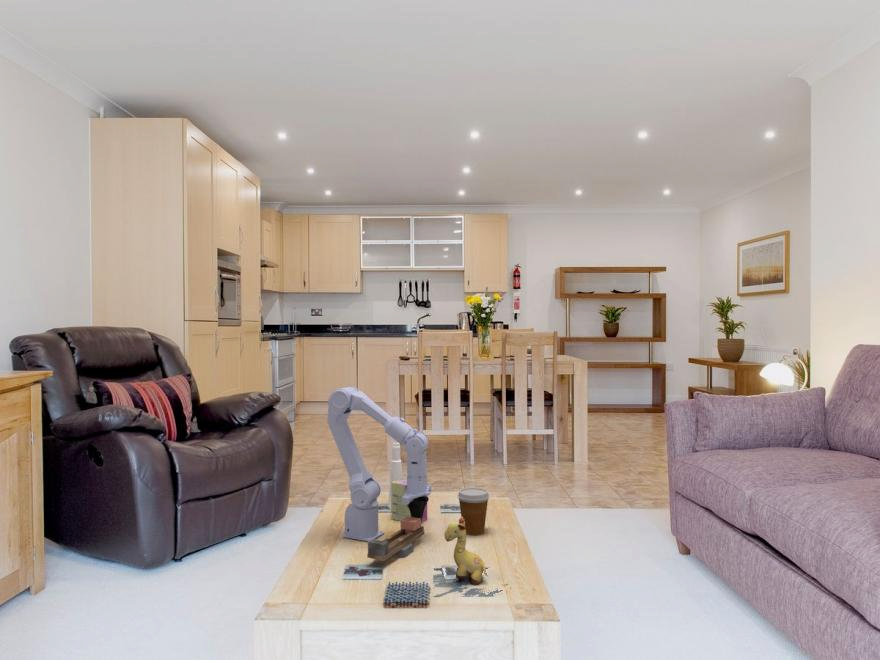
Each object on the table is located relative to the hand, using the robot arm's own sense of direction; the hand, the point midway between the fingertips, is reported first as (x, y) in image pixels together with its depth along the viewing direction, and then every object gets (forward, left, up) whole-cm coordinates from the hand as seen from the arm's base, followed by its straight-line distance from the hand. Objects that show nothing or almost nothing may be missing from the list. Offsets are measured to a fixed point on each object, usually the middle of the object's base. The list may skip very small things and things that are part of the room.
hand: (417, 523), depth 173 cm
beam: (0, -11, -5) cm, 12 cm away
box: (-11, +15, -5) cm, 19 cm away
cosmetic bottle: (-21, +24, -5) cm, 33 cm away
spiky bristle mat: (+16, -34, -6) cm, 38 cm away
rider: (0, -4, -2) cm, 4 cm away
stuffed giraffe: (+25, -20, -5) cm, 33 cm away
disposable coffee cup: (+12, +13, -5) cm, 19 cm away
